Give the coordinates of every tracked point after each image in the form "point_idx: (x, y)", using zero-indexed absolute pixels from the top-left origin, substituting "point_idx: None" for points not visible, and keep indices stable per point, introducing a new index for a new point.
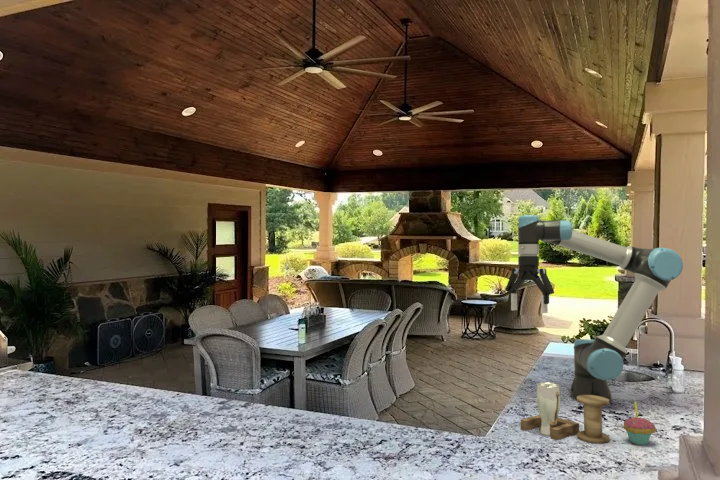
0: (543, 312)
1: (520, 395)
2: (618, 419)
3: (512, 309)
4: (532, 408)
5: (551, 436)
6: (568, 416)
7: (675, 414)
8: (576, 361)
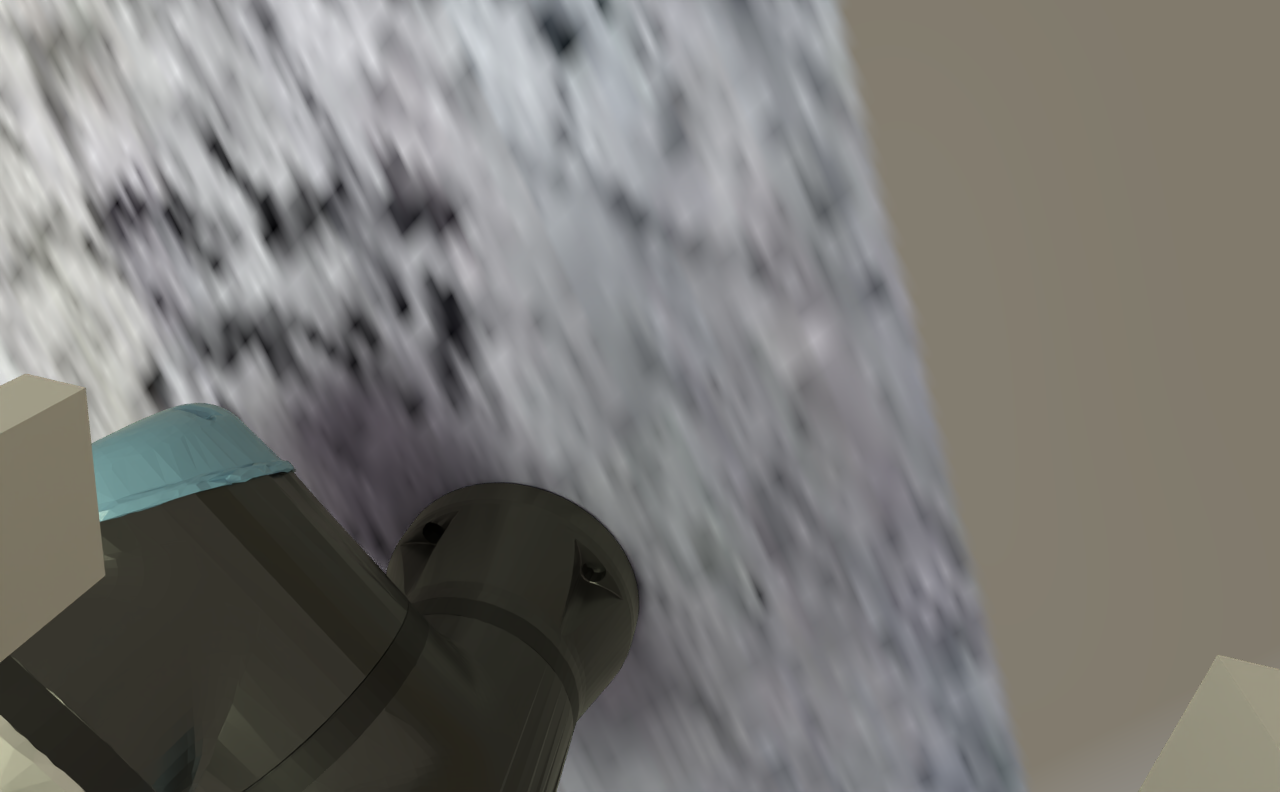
0: (9, 396)
1: (913, 363)
2: (165, 198)
3: (1246, 681)
4: (673, 43)
5: None
6: (388, 23)
7: None
8: (495, 703)
